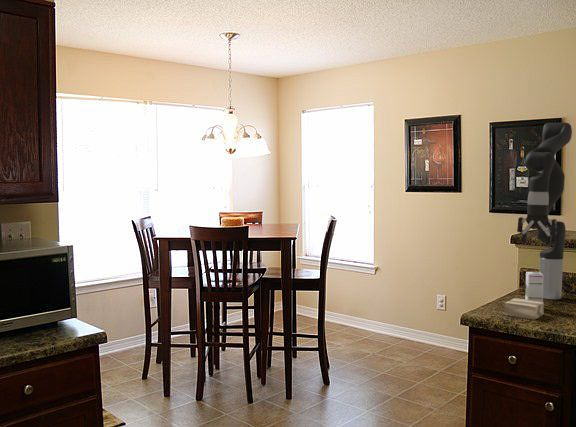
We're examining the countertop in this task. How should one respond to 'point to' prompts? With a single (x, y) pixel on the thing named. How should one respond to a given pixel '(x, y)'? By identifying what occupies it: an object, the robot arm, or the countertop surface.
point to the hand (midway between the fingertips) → (536, 244)
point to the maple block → (524, 308)
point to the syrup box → (534, 286)
